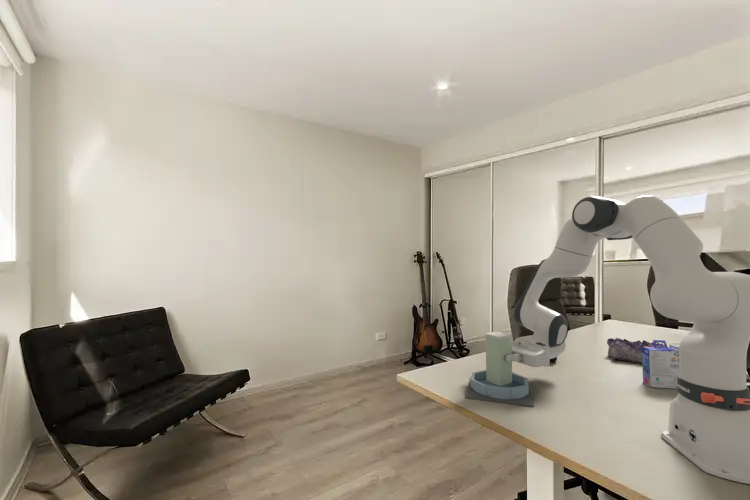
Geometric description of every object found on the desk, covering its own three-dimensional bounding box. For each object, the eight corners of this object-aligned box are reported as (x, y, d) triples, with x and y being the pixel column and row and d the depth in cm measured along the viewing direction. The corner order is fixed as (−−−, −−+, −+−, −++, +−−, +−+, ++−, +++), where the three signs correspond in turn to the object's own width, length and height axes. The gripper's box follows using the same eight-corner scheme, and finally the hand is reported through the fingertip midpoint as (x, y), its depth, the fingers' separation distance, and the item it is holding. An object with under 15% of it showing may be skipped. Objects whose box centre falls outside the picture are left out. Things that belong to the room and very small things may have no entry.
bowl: (530, 403, 102) (529, 392, 103) (468, 395, 109) (468, 384, 109) (527, 382, 119) (527, 373, 119) (473, 376, 125) (473, 367, 125)
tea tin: (512, 382, 113) (512, 334, 113) (499, 386, 110) (499, 337, 110) (498, 377, 118) (497, 331, 118) (485, 380, 115) (485, 333, 115)
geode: (667, 361, 143) (668, 337, 142) (670, 373, 134) (671, 347, 132) (606, 352, 155) (607, 329, 153) (606, 362, 145) (606, 338, 144)
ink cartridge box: (674, 383, 118) (674, 340, 118) (685, 390, 113) (684, 344, 113) (641, 381, 120) (640, 338, 120) (650, 387, 115) (649, 342, 115)
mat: (533, 407, 101) (533, 405, 101) (465, 397, 108) (465, 396, 108) (529, 383, 120) (529, 381, 120) (471, 376, 126) (471, 375, 126)
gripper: (501, 334, 129) (473, 339, 122) (553, 347, 111) (523, 353, 104) (502, 352, 129) (473, 357, 122) (553, 367, 111) (523, 375, 104)
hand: (496, 355), depth 113 cm, fingers closed on tea tin, 5 cm apart
